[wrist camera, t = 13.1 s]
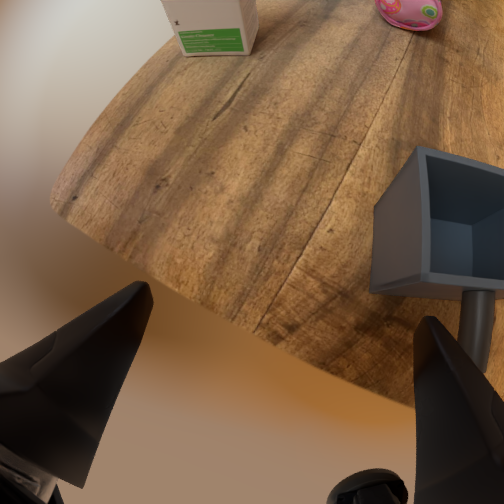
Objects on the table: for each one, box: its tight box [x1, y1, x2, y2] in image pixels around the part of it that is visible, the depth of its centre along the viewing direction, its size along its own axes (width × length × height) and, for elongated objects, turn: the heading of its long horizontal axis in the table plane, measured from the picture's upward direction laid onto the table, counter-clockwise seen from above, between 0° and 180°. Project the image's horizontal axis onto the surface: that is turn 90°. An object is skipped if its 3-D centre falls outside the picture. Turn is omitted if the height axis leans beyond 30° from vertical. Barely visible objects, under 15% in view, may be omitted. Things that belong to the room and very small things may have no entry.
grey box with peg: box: [369, 146, 504, 373], centre depth 16 cm, size 12×10×10 cm
